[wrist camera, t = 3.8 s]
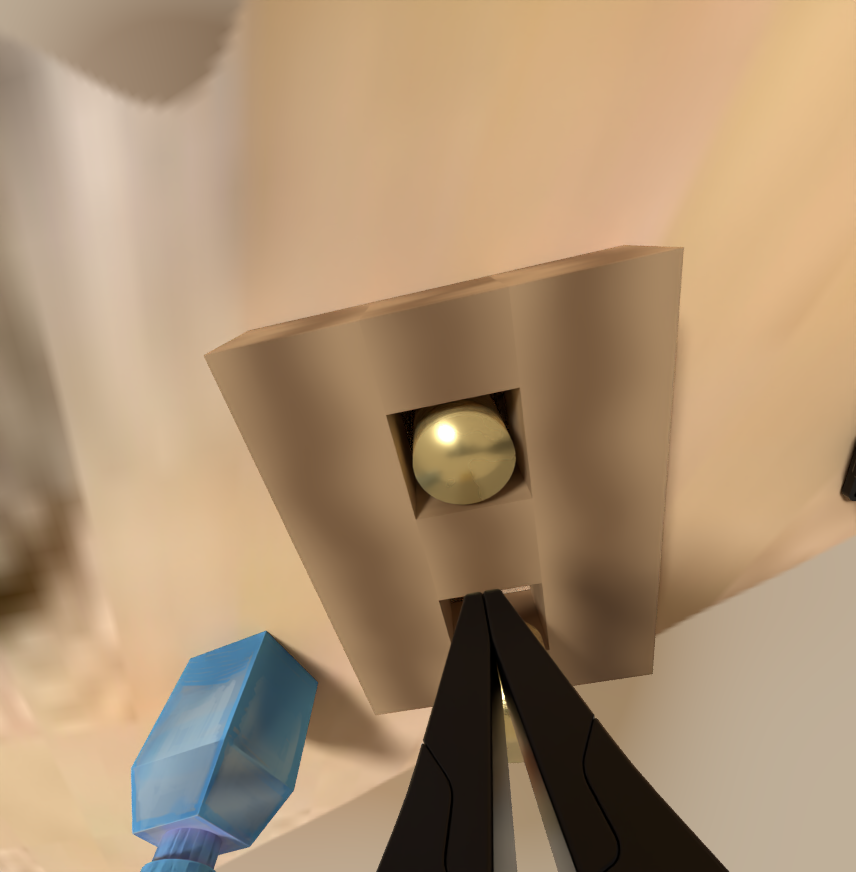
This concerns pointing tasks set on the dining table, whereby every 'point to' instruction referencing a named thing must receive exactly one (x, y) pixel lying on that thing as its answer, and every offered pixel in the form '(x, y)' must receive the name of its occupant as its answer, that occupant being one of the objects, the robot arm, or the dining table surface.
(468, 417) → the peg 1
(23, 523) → the dining table surface
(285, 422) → the socket board
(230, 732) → the perfume bottle
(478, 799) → the robot arm
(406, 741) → the dining table surface
